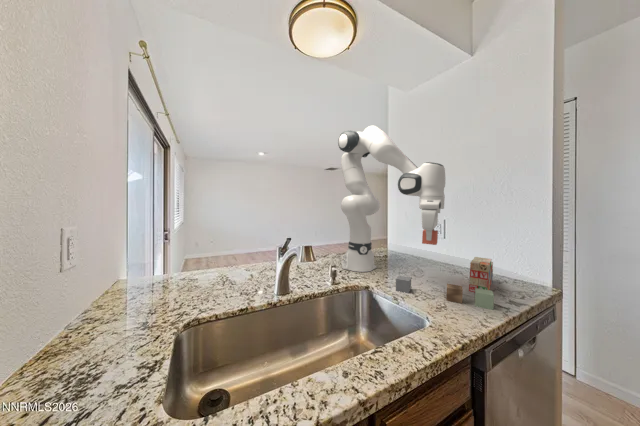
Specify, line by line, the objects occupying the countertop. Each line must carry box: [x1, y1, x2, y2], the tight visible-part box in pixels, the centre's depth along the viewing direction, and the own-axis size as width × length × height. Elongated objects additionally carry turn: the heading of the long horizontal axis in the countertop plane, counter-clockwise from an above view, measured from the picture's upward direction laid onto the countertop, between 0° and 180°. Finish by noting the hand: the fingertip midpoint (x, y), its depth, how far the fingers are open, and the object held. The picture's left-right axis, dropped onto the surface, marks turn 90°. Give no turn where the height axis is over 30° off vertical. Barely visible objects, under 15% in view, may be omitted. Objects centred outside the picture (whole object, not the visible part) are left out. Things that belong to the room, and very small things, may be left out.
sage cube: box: [474, 288, 495, 310], centre depth 83 cm, size 5×5×5 cm
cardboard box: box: [468, 256, 494, 293], centre depth 103 cm, size 21×6×12 cm, turn 140°
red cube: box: [421, 229, 439, 246], centre depth 94 cm, size 5×5×5 cm
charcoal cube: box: [395, 275, 412, 294], centre depth 97 cm, size 5×5×5 cm
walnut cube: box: [445, 283, 464, 305], centre depth 88 cm, size 5×5×5 cm
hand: (429, 239), depth 94 cm, fingers closed on red cube, 5 cm apart
